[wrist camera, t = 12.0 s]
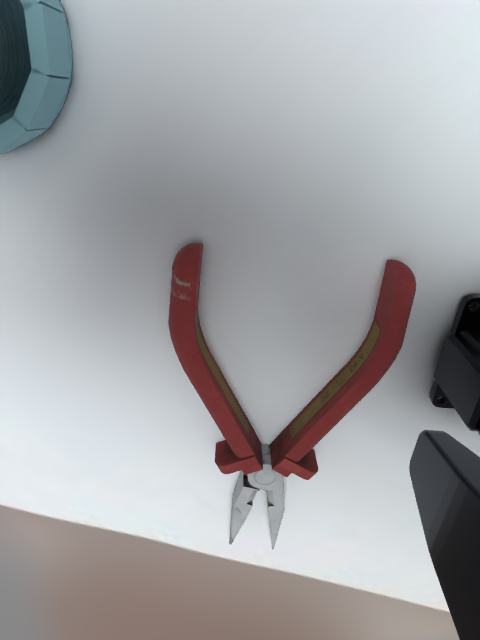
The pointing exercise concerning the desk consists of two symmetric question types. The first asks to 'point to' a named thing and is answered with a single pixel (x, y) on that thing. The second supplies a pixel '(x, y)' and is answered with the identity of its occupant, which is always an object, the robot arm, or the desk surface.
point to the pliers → (313, 421)
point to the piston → (13, 54)
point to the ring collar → (40, 75)
